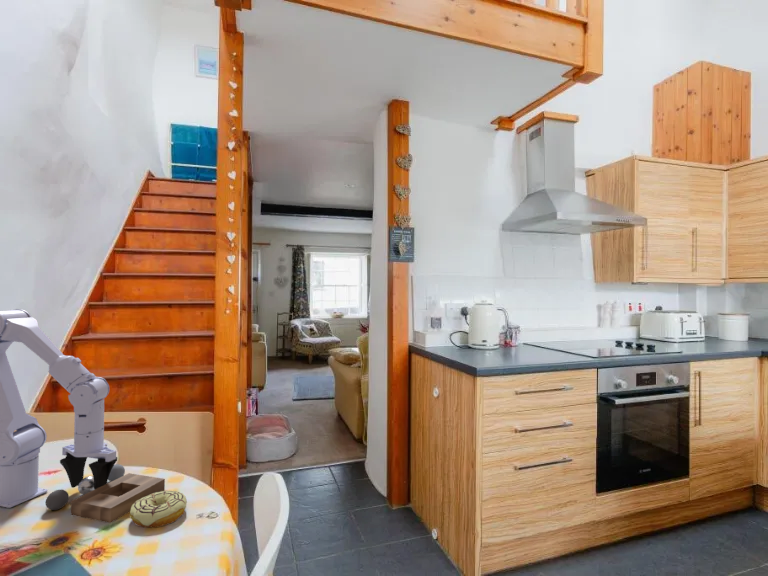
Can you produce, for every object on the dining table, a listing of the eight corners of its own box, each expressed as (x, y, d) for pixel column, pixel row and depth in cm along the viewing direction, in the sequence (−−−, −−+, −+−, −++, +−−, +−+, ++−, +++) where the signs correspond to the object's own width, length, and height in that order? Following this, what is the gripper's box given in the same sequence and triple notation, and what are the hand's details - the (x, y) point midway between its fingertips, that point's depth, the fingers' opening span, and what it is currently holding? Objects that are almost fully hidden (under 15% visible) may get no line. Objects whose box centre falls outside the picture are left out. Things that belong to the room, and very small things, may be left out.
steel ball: (73, 496, 94) (73, 479, 94) (90, 488, 98) (90, 472, 98) (86, 499, 93) (86, 481, 93) (102, 491, 96) (103, 474, 96)
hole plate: (70, 515, 86) (71, 500, 86) (128, 485, 99) (129, 473, 99) (110, 523, 83) (110, 508, 83) (164, 491, 96) (164, 478, 96)
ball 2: (101, 483, 100) (102, 467, 100) (116, 476, 104) (116, 460, 104) (114, 485, 99) (114, 469, 99) (128, 478, 103) (128, 462, 103)
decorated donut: (145, 537, 78) (145, 518, 78) (120, 520, 84) (121, 502, 84) (195, 513, 87) (196, 496, 87) (170, 499, 93) (170, 483, 93)
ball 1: (40, 512, 87) (40, 493, 87) (60, 503, 91) (60, 485, 91) (54, 514, 86) (54, 496, 86) (73, 505, 90) (73, 487, 90)
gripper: (128, 427, 97) (127, 484, 97) (83, 422, 101) (82, 476, 101) (100, 437, 90) (99, 498, 90) (53, 431, 94) (52, 489, 94)
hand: (88, 487), depth 95 cm, fingers open, 7 cm apart
